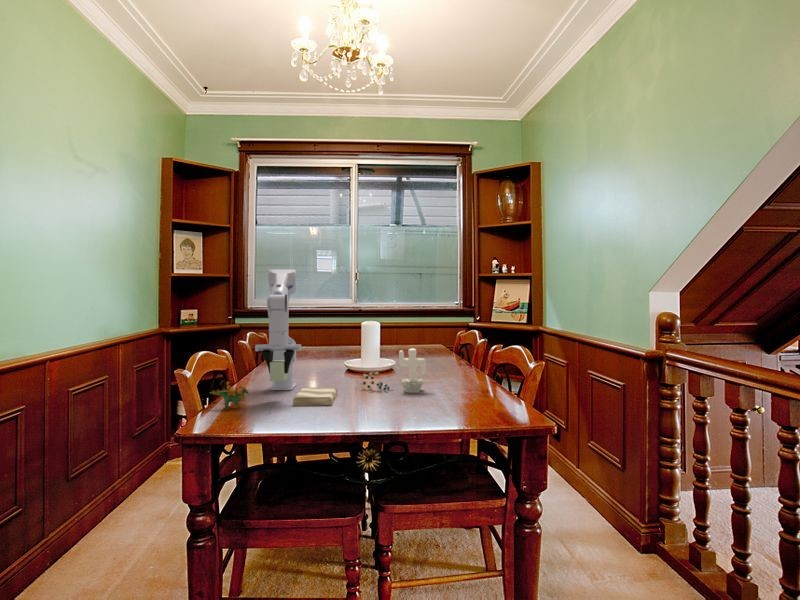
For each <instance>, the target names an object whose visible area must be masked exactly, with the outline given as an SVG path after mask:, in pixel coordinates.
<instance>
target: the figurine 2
mask: <svg viewBox="0 0 800 600" xmlns="http://www.w3.org/2000/svg"><path fill="white" fill-rule="evenodd" d="M404 356H405V354H404V351H403V349H401V350H399V352H398V362H399V366H401V367H408V377H409V378H402V380H401V384H402V387H403V388H404V391H405V393H406V394H407V393H413V394H414V393H415V394H417V393H418V394H419V392H420V390H421V388H422V387H423V383H424V379H423V378H417V367H420V368H421V369H420V371H421V374H423V375H425V374H426V373H427V362H426V359H425V358H421V357H419V358H418V357H417V349H416V348H415V347H413V348H412V347H410V348H409V349H408V357H407V358H405V357H404Z"/></svg>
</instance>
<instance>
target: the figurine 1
mask: <svg viewBox="0 0 800 600" xmlns="http://www.w3.org/2000/svg"><path fill="white" fill-rule="evenodd" d="M238 388H239V390H240V392H238ZM209 394H211V395H217V396H222V397H223V400H224V403H223V405H224V408H225V409H227V410H228V409H230V408H232V406H230V404H229V403H234V407H235V408H236V409H239V408H241V406H240V405H239V402H242V401H244V400H245V399H247V398H246V397H245V394H246V395H249V391H248V390H247V388H246V386H244V387H243V386H242V385H239V386H238V387H236V386H235V387H234V389H232V388H231V385H230V382H229V381H226V389H223V390H220V389H217V390H216V391H215V390H212V391H210V392H209Z"/></svg>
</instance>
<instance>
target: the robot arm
mask: <svg viewBox="0 0 800 600" xmlns="http://www.w3.org/2000/svg"><path fill="white" fill-rule="evenodd" d="M296 273H297V272H296V270H295V268H294V269H272V268H271V269H269V270H268V273H267V274H268V276H267V277H268V279H267V280H268V286H269V291H270V293H269V296H267V297H266V309H267V317H268V336H269V337H268V340H269V341H268V344H267V343H265V344H255V345H254V347H255V349H254V350H255V352H259V351H260V352H262V353H261V355H262V358H263V360H265V363H266V365H267V366H266V367H267V369H268V373H269V375H270V362H271V361H273V360H285V373H287V379H286V380H284V381H271V382H272V383H271V384H272V385H271V387H269V388H268V390H269V391H291V390H292V389H294V388H295V386H296V385H298V383H296V382H295V368H294V365H293V363H296V361H297V352H300V351H302V344H301V343H300V344H297V343H296V340H294V339H293V338H292V337H290V336H289V323H290V321H289V318H290V317H289V314H290V313H289V311H290V310H289V309H290V307H289V306H290V304H289V303H290V299H291V295H294V294H295V293H296V290H297V289H296V287H297V274H296Z"/></svg>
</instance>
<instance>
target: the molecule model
mask: <svg viewBox="0 0 800 600" xmlns="http://www.w3.org/2000/svg"><path fill="white" fill-rule="evenodd" d="M370 371H371V372H369V375H370V377H369V375H368V374H366V373H363V377H364V378H365V380H364V381H362V382H361V381H360V382H359V385H362V386H365V385H366V387H367V388H366V392H368V391H369V390H373V387H372V385H376V389H377V390H380V389H382V390H383V391H384V392H386V393H388V392H389V391H388V390H390V391H394V388H393V387H392V388H391V387H390V386H388V384H384V383H383V382H382V381H381V380H379V381H378V382H377V383H375V381H374V379H375V378H374V375H375V374H376V375H379V372H378V371H376V372H374V368H371V369H370ZM368 379H371V380H369V384H367V380H368ZM382 386H384V387H382Z"/></svg>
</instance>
